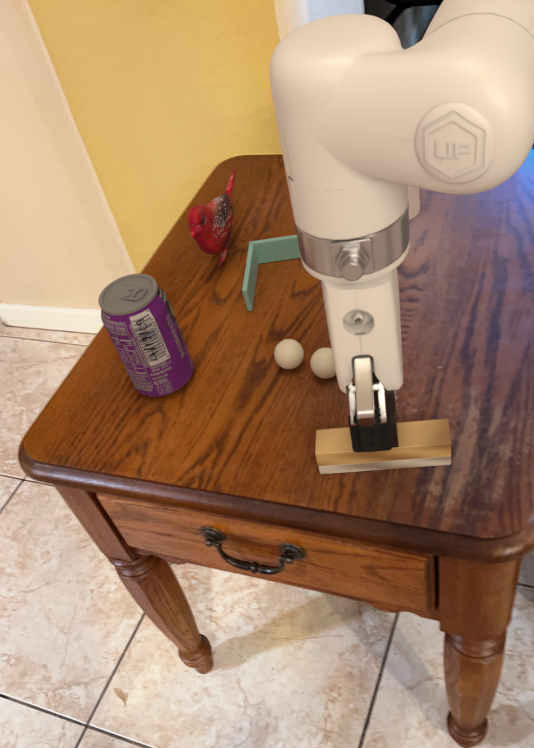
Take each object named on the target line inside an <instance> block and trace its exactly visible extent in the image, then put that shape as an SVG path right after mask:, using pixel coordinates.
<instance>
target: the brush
mask: <svg viewBox="0 0 534 748" xmlns="http://www.w3.org/2000/svg"><path fill="white" fill-rule="evenodd" d="M372 378H373V382H379V380H378V378H377V377H376V375H375V372H374V373H372ZM373 396H374V407H375V409H377V408H379V401H378V391H373ZM385 400H386V412H387V413H388V412H390V422H391V435H392V449H391V450H388V451H376V452H359V453H357V452H354V451H353V448H352V441H351V435H350V428H349V426H347V427H335V428H334V427H333V428H324V429H323V428H322V429H316V430H315V449H314V450H315V451H314V456H315V459H316V464H317V467H318V471H319V474H320V475H330V474H343V473H359V472H371V471H383V470H384V471H385V470H399V469H411V468H426V467H436V466H451V465H452V439H451V431H450V422H449V418H448V417H447V418H438V419H437V418H436V419H426V420H425V419H424V420H415V421H403V422H402V421H401V422H398V417H397V406H396V395H395V390H391V391H387V390H386V389H385Z"/></svg>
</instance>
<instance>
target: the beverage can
mask: <svg viewBox="0 0 534 748" xmlns="http://www.w3.org/2000/svg"><path fill="white" fill-rule="evenodd" d="M97 301H98V306H99V308H100V319H101V322H102V324H103V326H104V328H105V330H106V333H107V334H108V337H109V339H110V340H111V343H112V344H113V347H114V348H115V351H116V353H117V355H118V357H119V359H120V361H121V363H122V365H123V367H124V369H125V371H126V373H127V375H128V377H129V380H130V381H131V383H132V385H133V387H134V389H135V390H136V391H137V392H138V393H139V394H141V395H143V396H146V397H154V398H155V397H163V396H168V395H170V394H173V393H175V392H176V391H179V390H180V389H181V388H183V387H184V386H185V385H186V384H187V383H188V382H189V380H190V379H191V378H192V376H193V374H194V370H195V365H194V362H193V359H192V356H191V353H190V351H189V348H188V345H187V344H186V341H185V339H184V336H183V333H182V331H181V328H180V326H179V323H178V322H177V318H176V315H175V313H174V310H173V308H172V305H171V303H170V301H169V298H168V296H167V293H166V291H164V289H162V288H161V287H160V286H159V285H158V283H157V280H156V278H154V277H153V276H152V275H150V274H147V273H131V274H127V275H123V276H121V277H118V278H117V279H115V280H113V281H111V282H110V283H108V284H107V285H106V286H105V287H104V288H103V289H102V290H101V292H100V294H99V296H98V299H97Z"/></svg>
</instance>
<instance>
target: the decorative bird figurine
mask: <svg viewBox="0 0 534 748" xmlns="http://www.w3.org/2000/svg"><path fill="white" fill-rule="evenodd" d="M235 179H236V169H233V170H232V172H231V175H230V177H229V180H228V182H227V185H226V188H225V191H224V192H223V194H220V195H218V196H216V197H215V198H213V199H212V200H210V201H209V203H207V204H206V205H204V204H196V205H194V206H192V207H191V208H190V209H189V211H188V213H187V226H188V230H189V232H190V235H191V238H192V239H193V240H195V242H196V244H197V246H198V248H199V249H200V250H201V251H202V252H203V253H205V254H207V255H211V256H212V255H217V254H220V253H221V255H220V257H219V264H218V266H217V270H219V269H220V267H221V266H222V264H224V263H225V261H226V257H227V255H228V251H229V249H228V247H230V244H229V242H230V239H231V235H232V231H233V220H234V205H233V191H234V185H235Z"/></svg>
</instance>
